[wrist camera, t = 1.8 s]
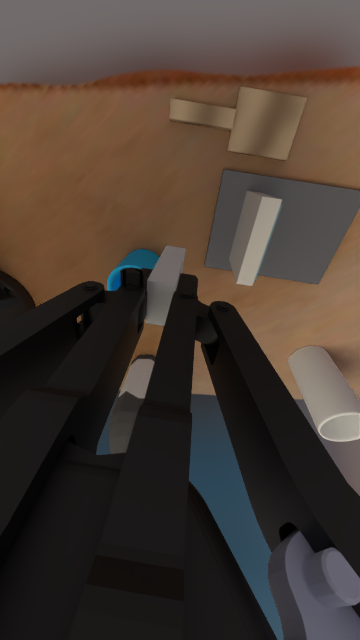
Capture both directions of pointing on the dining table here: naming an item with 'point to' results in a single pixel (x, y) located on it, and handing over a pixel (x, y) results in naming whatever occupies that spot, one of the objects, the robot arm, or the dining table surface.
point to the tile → (253, 235)
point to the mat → (285, 224)
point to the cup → (326, 394)
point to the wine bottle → (129, 403)
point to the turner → (249, 121)
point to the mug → (132, 265)
